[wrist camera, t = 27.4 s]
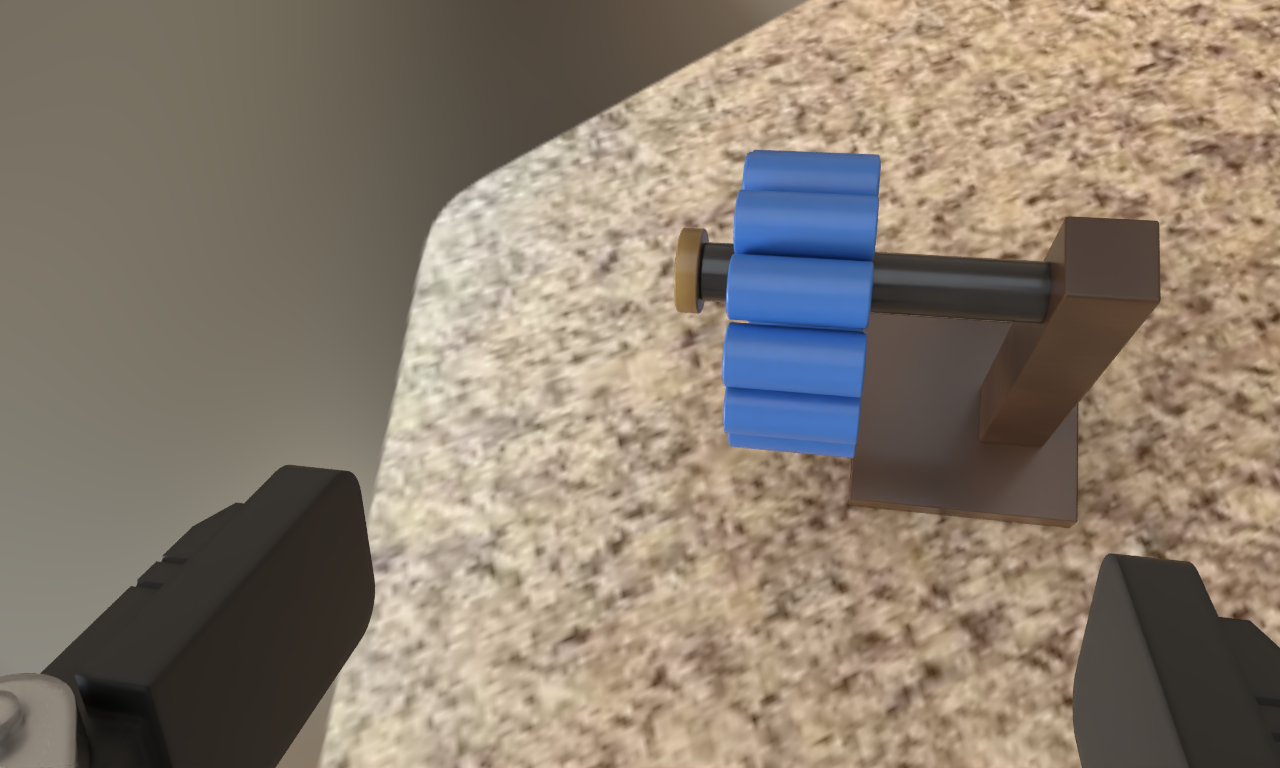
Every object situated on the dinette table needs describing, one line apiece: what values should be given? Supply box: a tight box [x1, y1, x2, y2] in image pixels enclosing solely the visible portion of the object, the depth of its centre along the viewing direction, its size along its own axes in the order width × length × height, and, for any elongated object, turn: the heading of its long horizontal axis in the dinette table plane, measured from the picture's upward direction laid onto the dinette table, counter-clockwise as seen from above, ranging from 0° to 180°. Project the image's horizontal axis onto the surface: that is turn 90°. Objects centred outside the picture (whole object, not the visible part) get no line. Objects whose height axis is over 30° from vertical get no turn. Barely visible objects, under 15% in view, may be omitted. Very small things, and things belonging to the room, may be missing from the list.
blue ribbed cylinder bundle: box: [722, 150, 881, 458], centre depth 33 cm, size 4×9×9 cm, turn 172°
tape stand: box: [674, 217, 1161, 528], centre depth 36 cm, size 14×8×16 cm, turn 82°
